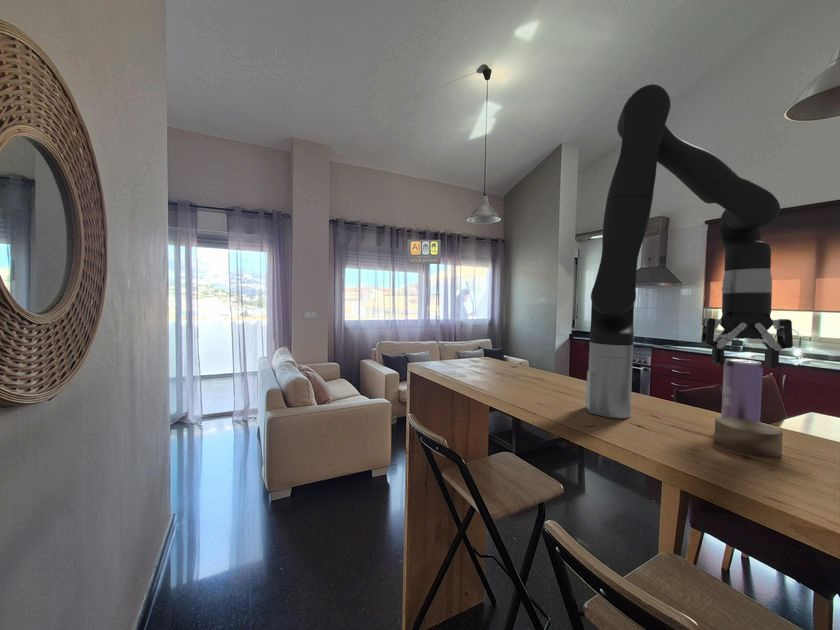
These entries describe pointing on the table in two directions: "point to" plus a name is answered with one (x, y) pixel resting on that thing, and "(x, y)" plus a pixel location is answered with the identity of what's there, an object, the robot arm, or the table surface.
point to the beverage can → (742, 389)
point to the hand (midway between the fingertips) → (744, 366)
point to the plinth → (748, 436)
